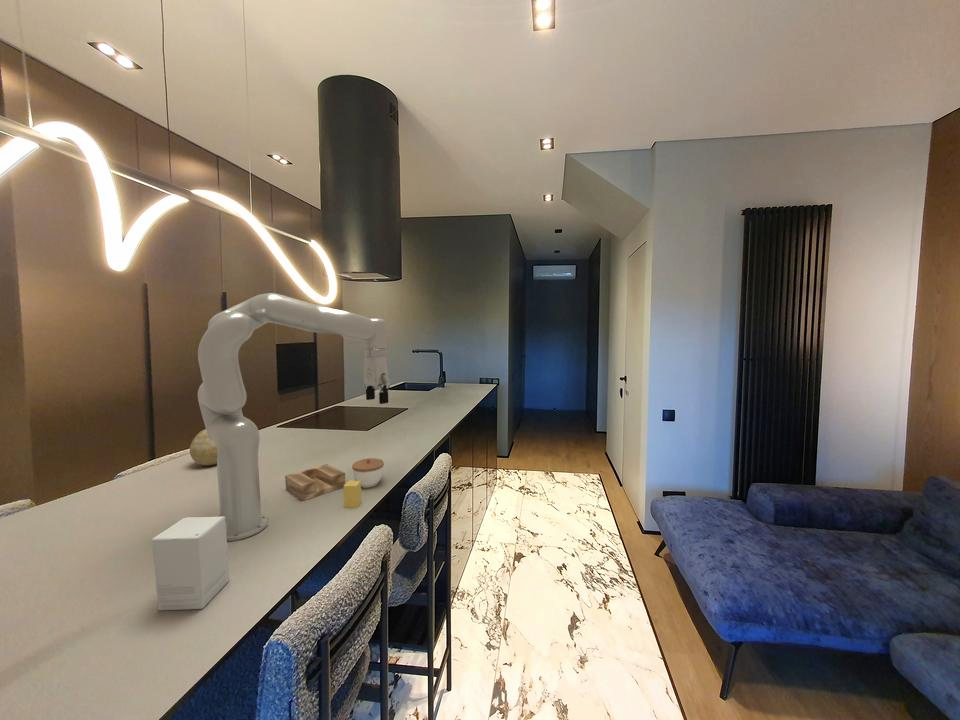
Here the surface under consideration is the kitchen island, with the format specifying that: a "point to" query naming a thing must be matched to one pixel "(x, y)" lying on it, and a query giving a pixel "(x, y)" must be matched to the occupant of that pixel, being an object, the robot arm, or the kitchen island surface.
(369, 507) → the kitchen island surface
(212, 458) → the fossilized egg
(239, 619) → the kitchen island surface
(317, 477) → the notched board
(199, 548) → the supplement box
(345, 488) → the yellow upright block
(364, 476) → the lidded jar
